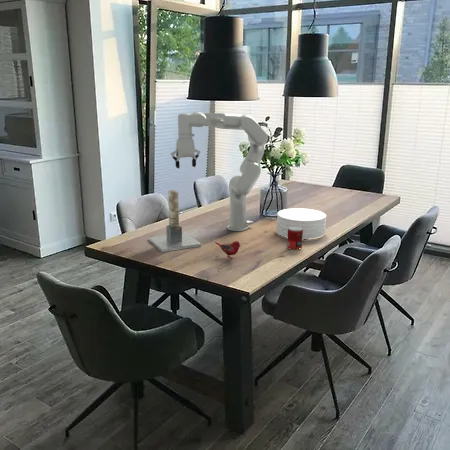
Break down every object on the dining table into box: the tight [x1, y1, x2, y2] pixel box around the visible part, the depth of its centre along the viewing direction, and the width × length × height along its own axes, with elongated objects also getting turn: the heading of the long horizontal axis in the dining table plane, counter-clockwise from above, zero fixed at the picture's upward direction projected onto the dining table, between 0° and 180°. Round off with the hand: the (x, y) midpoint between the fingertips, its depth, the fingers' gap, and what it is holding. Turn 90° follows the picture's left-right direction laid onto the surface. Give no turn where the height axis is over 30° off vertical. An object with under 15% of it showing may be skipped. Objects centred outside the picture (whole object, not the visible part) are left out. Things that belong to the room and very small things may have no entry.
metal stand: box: [148, 224, 202, 253], centre depth 270 cm, size 22×22×10 cm
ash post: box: [167, 189, 180, 228], centre depth 266 cm, size 4×4×20 cm
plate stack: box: [276, 207, 327, 239], centre depth 290 cm, size 28×28×12 cm
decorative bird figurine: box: [214, 240, 241, 260], centre depth 249 cm, size 3×18×10 cm, turn 47°
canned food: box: [286, 226, 303, 250], centre depth 264 cm, size 8×8×11 cm
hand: (185, 167), depth 279 cm, fingers open, 9 cm apart
